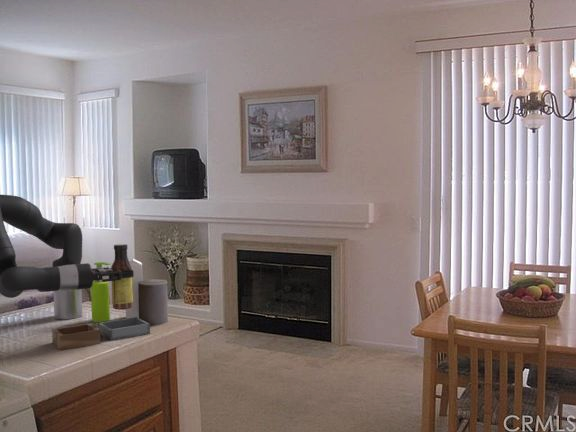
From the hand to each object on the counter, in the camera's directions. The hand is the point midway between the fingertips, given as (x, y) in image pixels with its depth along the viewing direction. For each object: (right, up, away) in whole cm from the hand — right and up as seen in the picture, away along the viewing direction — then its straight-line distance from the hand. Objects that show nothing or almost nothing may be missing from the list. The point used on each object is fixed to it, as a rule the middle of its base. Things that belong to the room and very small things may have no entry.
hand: (129, 272), depth 176 cm
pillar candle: (+4, -18, +14) cm, 23 cm away
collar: (-13, -20, -10) cm, 26 cm away
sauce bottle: (-2, -11, -1) cm, 11 cm away
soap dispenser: (-14, -18, +18) cm, 29 cm away
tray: (-2, -19, 0) cm, 19 cm away
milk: (-4, -18, +20) cm, 27 cm away
